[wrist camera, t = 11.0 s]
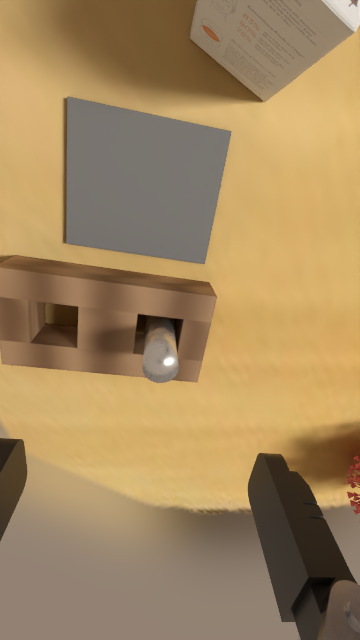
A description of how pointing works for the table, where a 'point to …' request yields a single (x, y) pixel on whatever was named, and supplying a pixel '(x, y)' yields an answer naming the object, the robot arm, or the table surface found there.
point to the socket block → (98, 317)
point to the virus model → (359, 468)
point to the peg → (160, 349)
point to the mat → (141, 181)
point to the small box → (271, 37)
